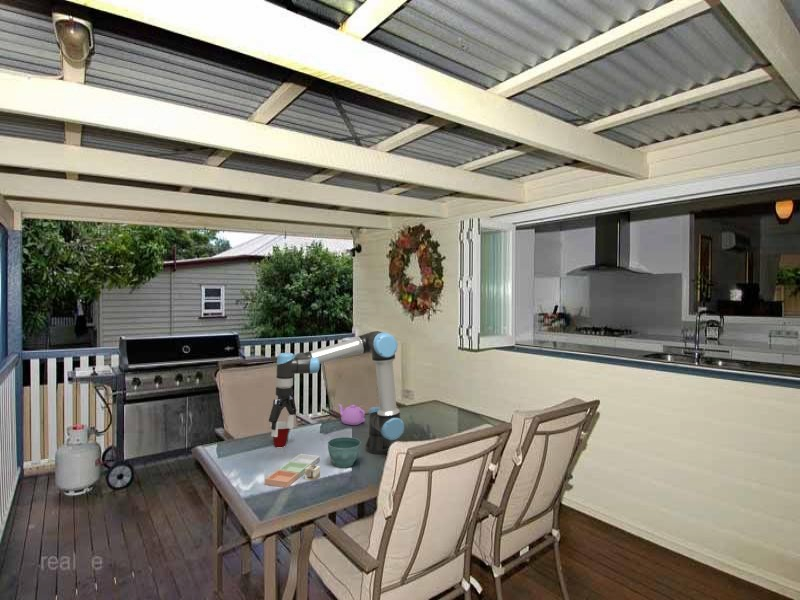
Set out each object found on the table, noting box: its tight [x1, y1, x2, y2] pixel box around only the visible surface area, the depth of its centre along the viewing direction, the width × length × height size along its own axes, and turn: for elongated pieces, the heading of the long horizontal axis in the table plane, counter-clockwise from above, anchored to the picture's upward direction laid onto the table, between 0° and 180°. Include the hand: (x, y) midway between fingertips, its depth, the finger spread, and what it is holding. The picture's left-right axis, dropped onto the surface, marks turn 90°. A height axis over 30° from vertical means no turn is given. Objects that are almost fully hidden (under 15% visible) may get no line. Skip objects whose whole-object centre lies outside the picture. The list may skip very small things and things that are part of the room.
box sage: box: [277, 460, 310, 479], centre depth 211 cm, size 11×11×2 cm
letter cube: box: [304, 464, 321, 482], centre depth 204 cm, size 5×5×5 cm
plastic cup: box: [270, 421, 290, 448], centre depth 245 cm, size 11×11×12 cm
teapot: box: [337, 403, 366, 426], centre depth 292 cm, size 20×13×12 cm, turn 68°
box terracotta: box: [264, 469, 300, 489], centre depth 200 cm, size 11×11×2 cm
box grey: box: [290, 453, 321, 466], centre depth 221 cm, size 11×11×2 cm
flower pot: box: [327, 436, 362, 468], centre depth 222 cm, size 16×16×11 cm
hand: (282, 432), depth 211 cm, fingers open, 13 cm apart
